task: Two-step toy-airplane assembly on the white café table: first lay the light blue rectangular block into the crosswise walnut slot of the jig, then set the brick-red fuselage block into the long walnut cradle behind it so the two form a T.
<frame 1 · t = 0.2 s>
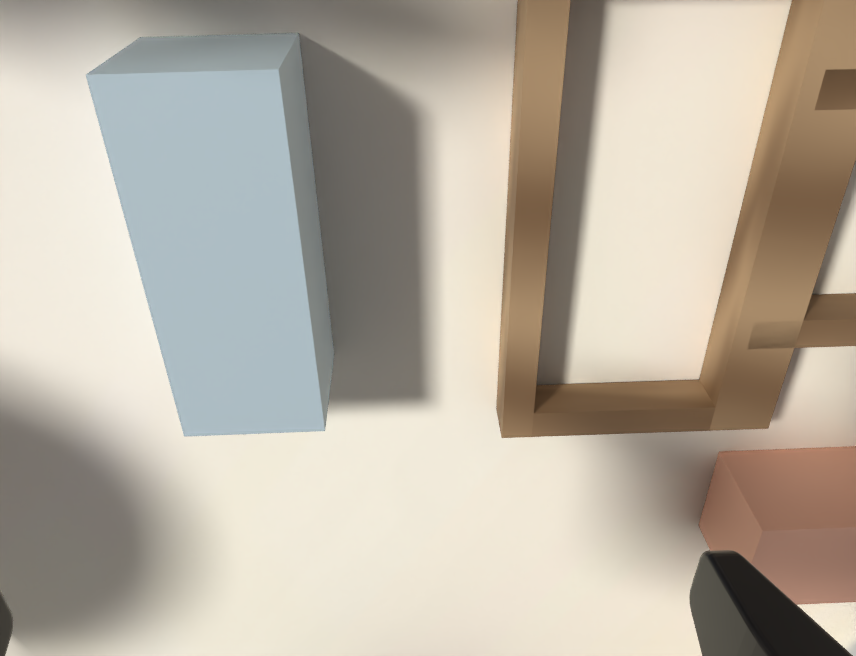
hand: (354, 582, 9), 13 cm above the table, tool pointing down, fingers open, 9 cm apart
light blue rectangular block: (251, 214, 21), on the table
fuselage block: (832, 481, 28), on the table
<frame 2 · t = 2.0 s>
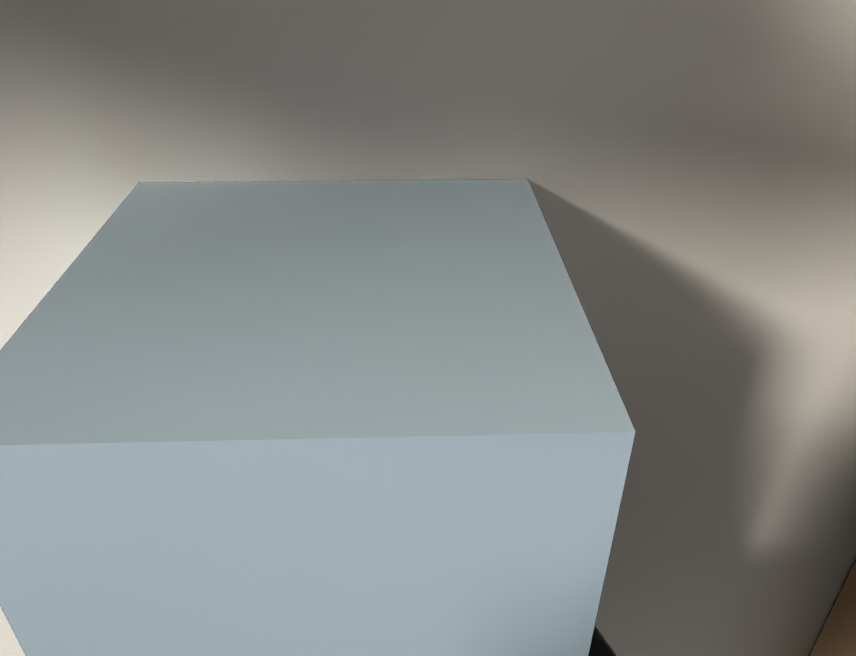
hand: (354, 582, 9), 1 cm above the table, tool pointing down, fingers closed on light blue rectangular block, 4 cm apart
light blue rectangular block: (358, 517, 10), on the table, touching gripper
when the fingers open (3 cm above the table, at t = 5.9 s): light blue rectangular block drops 2 cm, resting in jig.
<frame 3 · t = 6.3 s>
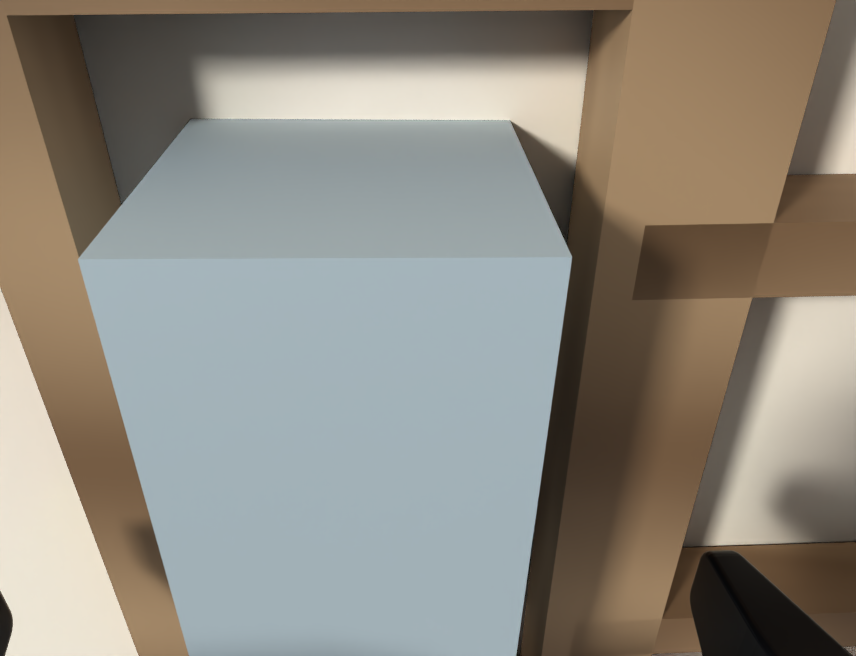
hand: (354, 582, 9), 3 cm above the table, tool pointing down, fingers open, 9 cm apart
light blue rectangular block: (365, 415, 12), resting in jig
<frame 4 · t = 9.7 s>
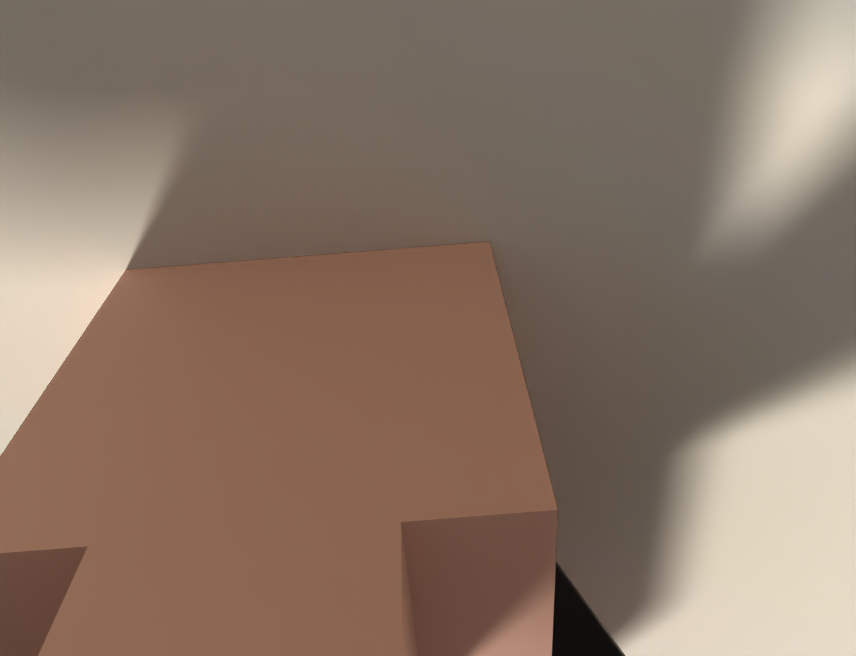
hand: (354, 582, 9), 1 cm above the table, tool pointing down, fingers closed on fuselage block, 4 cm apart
fuselage block: (361, 553, 11), on the table, touching gripper
when the fingers open (3 cm above the table, at t = 13.9 s): fuselage block stays where it is, resting on jig.
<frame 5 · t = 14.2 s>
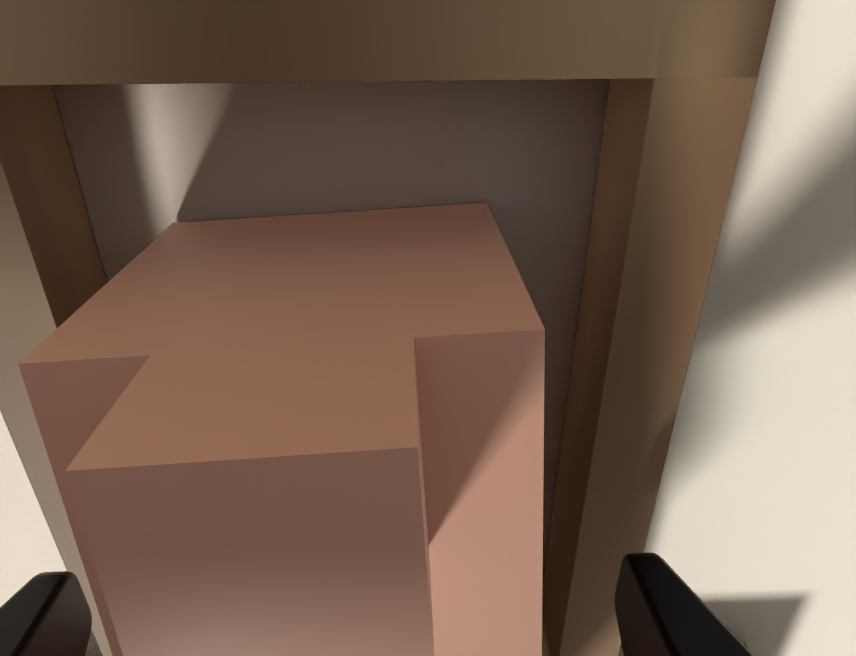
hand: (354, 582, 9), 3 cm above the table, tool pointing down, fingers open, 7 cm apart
jig: (360, 449, 11), on the table
fuselage block: (366, 527, 11), point 1 cm above the table, tilted 9°, touching jig
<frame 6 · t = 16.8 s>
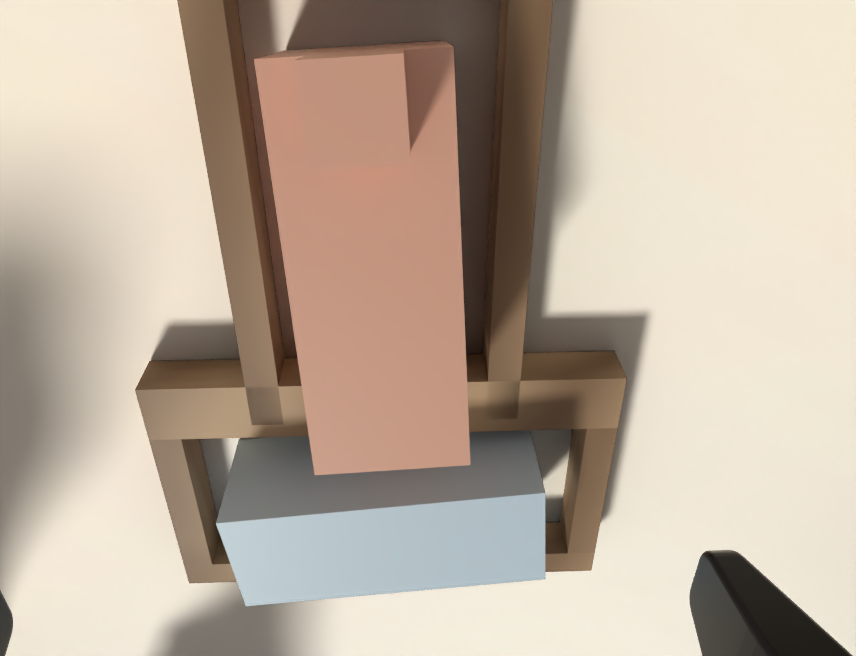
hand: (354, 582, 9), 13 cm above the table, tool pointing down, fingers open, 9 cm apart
jig: (377, 195, 20), on the table
light blue rectangular block: (388, 464, 26), resting in jig
fuselage block: (381, 237, 20), point 1 cm above the table, tilted 9°, touching jig
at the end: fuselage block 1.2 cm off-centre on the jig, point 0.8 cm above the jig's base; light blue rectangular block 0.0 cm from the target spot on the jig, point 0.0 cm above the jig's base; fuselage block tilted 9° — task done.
